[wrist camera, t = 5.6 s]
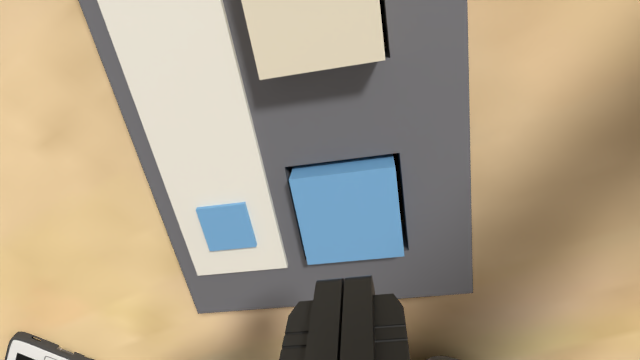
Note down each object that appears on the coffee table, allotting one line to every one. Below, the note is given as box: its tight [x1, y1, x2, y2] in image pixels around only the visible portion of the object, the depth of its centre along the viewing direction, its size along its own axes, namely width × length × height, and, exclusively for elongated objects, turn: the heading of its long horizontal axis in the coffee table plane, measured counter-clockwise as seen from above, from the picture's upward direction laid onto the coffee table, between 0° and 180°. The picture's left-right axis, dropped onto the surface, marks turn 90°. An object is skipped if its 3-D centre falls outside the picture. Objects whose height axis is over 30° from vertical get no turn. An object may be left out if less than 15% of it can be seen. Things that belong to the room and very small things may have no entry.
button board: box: [78, 0, 473, 314], centre depth 18 cm, size 16×32×4 cm, turn 10°
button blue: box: [289, 154, 404, 265], centre depth 22 cm, size 5×5×4 cm
